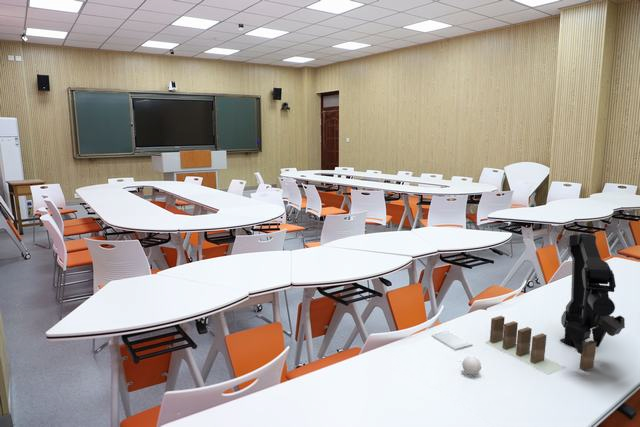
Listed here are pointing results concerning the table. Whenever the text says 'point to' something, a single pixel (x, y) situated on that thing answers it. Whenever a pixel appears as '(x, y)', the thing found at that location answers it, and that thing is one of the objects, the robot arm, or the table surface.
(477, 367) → the white sphere
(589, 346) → the domino
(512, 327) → the domino
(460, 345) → the hard drive
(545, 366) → the mat
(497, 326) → the domino
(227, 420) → the table surface
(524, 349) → the domino
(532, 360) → the domino
